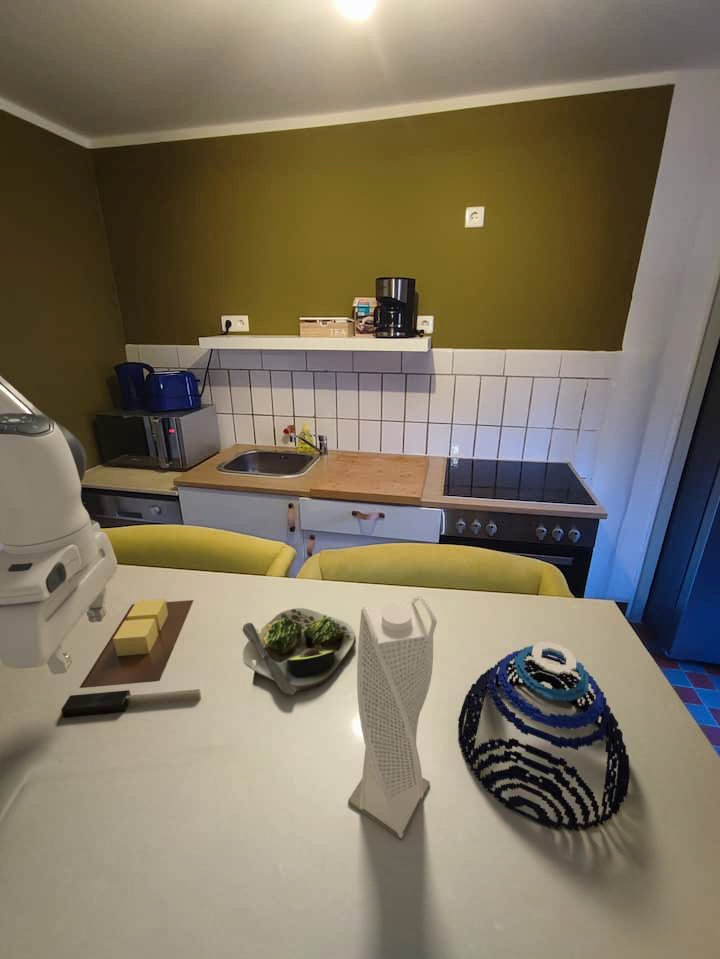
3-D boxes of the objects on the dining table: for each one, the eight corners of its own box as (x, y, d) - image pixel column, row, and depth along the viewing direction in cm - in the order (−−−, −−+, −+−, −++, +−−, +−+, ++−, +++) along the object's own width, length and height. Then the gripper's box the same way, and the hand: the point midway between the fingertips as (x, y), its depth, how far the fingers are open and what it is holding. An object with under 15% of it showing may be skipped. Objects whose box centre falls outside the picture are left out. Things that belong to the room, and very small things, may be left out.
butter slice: (130, 633, 74) (126, 616, 73) (140, 616, 78) (136, 600, 77) (160, 630, 75) (157, 614, 74) (168, 614, 79) (165, 598, 78)
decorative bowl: (477, 665, 69) (485, 589, 64) (621, 714, 60) (644, 630, 55) (439, 775, 52) (446, 684, 47) (630, 866, 43) (663, 766, 38)
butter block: (117, 656, 69) (112, 638, 68) (128, 637, 73) (124, 620, 72) (149, 653, 70) (145, 636, 68) (158, 634, 74) (155, 618, 73)
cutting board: (49, 698, 63) (46, 690, 63) (108, 612, 82) (107, 606, 81) (161, 688, 65) (159, 680, 64) (194, 606, 84) (193, 599, 83)
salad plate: (210, 662, 70) (206, 639, 68) (281, 603, 84) (279, 583, 82) (305, 713, 60) (303, 688, 59) (367, 637, 75) (367, 615, 73)
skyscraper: (440, 791, 50) (457, 590, 41) (409, 859, 44) (419, 640, 34) (379, 754, 55) (380, 564, 45) (342, 811, 48) (334, 605, 39)
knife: (66, 726, 59) (60, 709, 58) (75, 711, 61) (70, 695, 60) (200, 713, 61) (197, 696, 60) (204, 699, 63) (201, 683, 62)
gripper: (70, 515, 61) (93, 596, 66) (-39, 602, 42) (5, 709, 47) (117, 512, 61) (136, 593, 66) (30, 597, 42) (66, 703, 47)
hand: (81, 642), depth 56 cm, fingers open, 8 cm apart
